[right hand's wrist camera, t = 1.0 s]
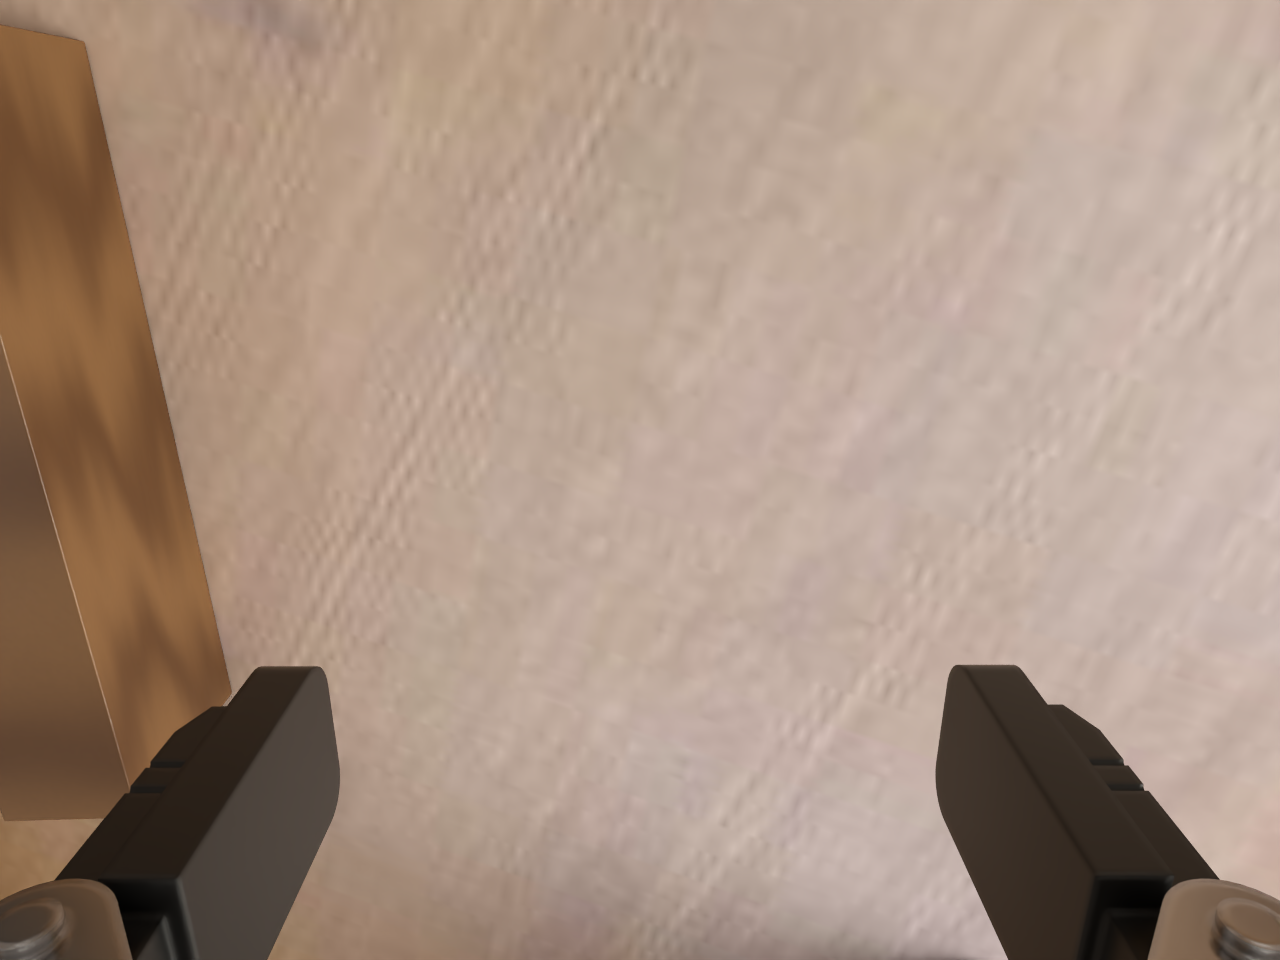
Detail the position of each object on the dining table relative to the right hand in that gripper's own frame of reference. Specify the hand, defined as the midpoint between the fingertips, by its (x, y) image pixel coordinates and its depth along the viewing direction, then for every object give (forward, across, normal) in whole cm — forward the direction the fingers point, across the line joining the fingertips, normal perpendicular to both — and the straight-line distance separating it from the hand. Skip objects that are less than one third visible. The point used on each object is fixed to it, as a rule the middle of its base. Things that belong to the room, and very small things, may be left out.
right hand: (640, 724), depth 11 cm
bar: (+24, -21, -2) cm, 32 cm away
